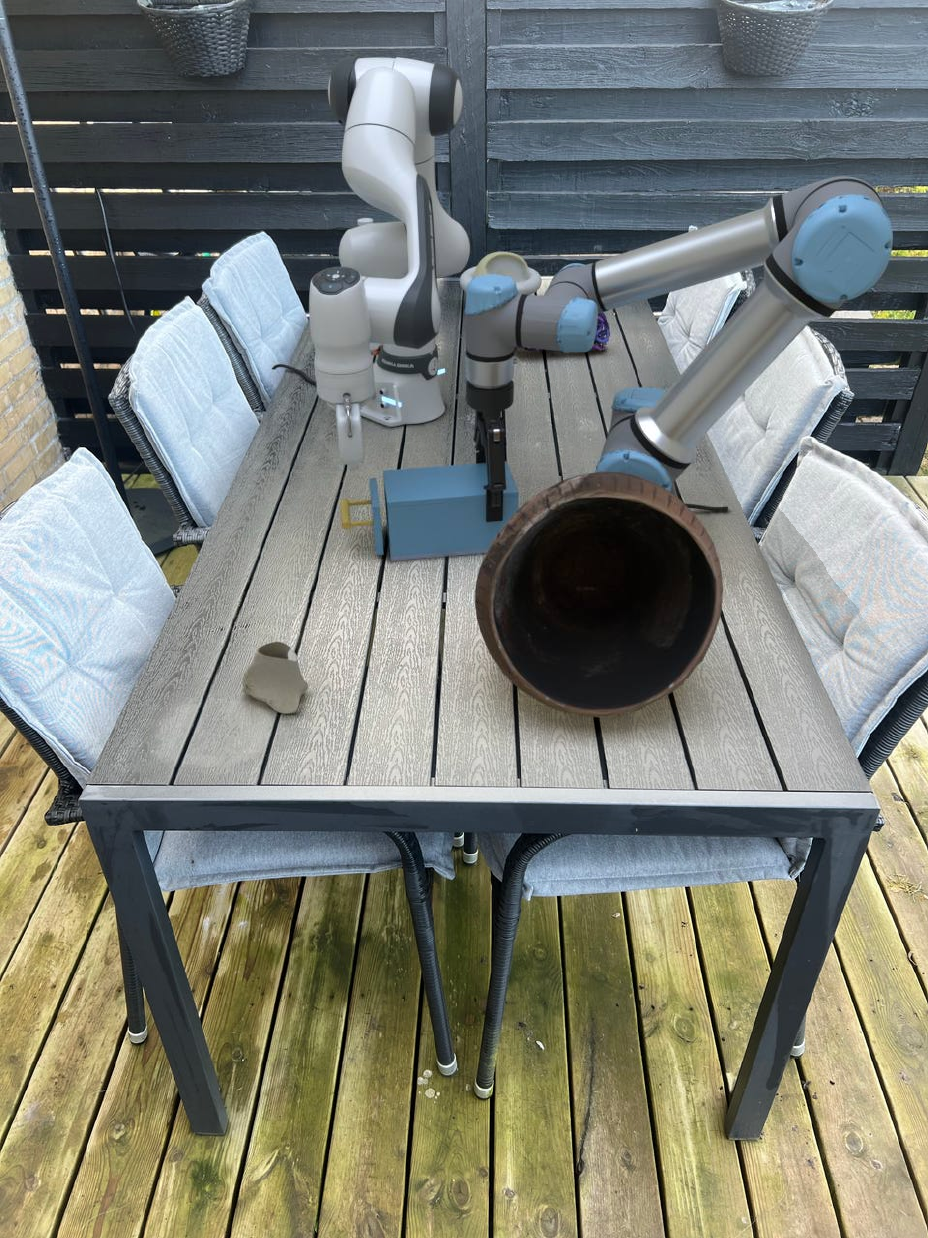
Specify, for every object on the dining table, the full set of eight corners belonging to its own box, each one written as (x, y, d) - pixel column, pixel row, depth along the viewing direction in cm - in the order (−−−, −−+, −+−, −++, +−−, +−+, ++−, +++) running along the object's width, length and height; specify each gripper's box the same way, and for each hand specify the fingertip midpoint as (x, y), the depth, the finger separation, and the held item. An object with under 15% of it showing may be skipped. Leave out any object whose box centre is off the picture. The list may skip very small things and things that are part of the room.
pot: (520, 423, 138) (555, 432, 109) (702, 511, 144) (783, 542, 115) (430, 616, 144) (441, 674, 115) (608, 693, 150) (662, 767, 121)
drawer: (345, 558, 155) (339, 509, 149) (343, 528, 163) (338, 480, 157) (495, 545, 158) (495, 497, 152) (486, 516, 165) (486, 469, 160)
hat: (455, 295, 261) (454, 240, 252) (532, 292, 263) (534, 237, 254) (465, 327, 242) (464, 268, 233) (548, 323, 244) (550, 264, 235)
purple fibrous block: (616, 330, 219) (490, 333, 216) (609, 367, 227) (487, 369, 225) (606, 296, 227) (484, 298, 224) (599, 332, 235) (482, 335, 233)
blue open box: (391, 561, 156) (387, 502, 149) (386, 527, 164) (382, 470, 158) (517, 550, 158) (518, 491, 151) (506, 517, 167) (507, 460, 160)
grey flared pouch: (308, 702, 131) (315, 635, 129) (297, 722, 124) (304, 652, 121) (246, 693, 131) (251, 626, 129) (231, 713, 124) (236, 642, 121)
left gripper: (370, 409, 134) (376, 493, 142) (362, 355, 150) (368, 433, 158) (325, 412, 133) (334, 496, 142) (323, 357, 149) (331, 436, 158)
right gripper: (527, 410, 136) (523, 537, 149) (501, 350, 154) (499, 468, 168) (477, 413, 135) (477, 541, 149) (456, 353, 153) (458, 471, 167)
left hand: (352, 462), depth 150 cm, fingers closed
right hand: (488, 502), depth 158 cm, fingers closed on blue open box, 11 cm apart
